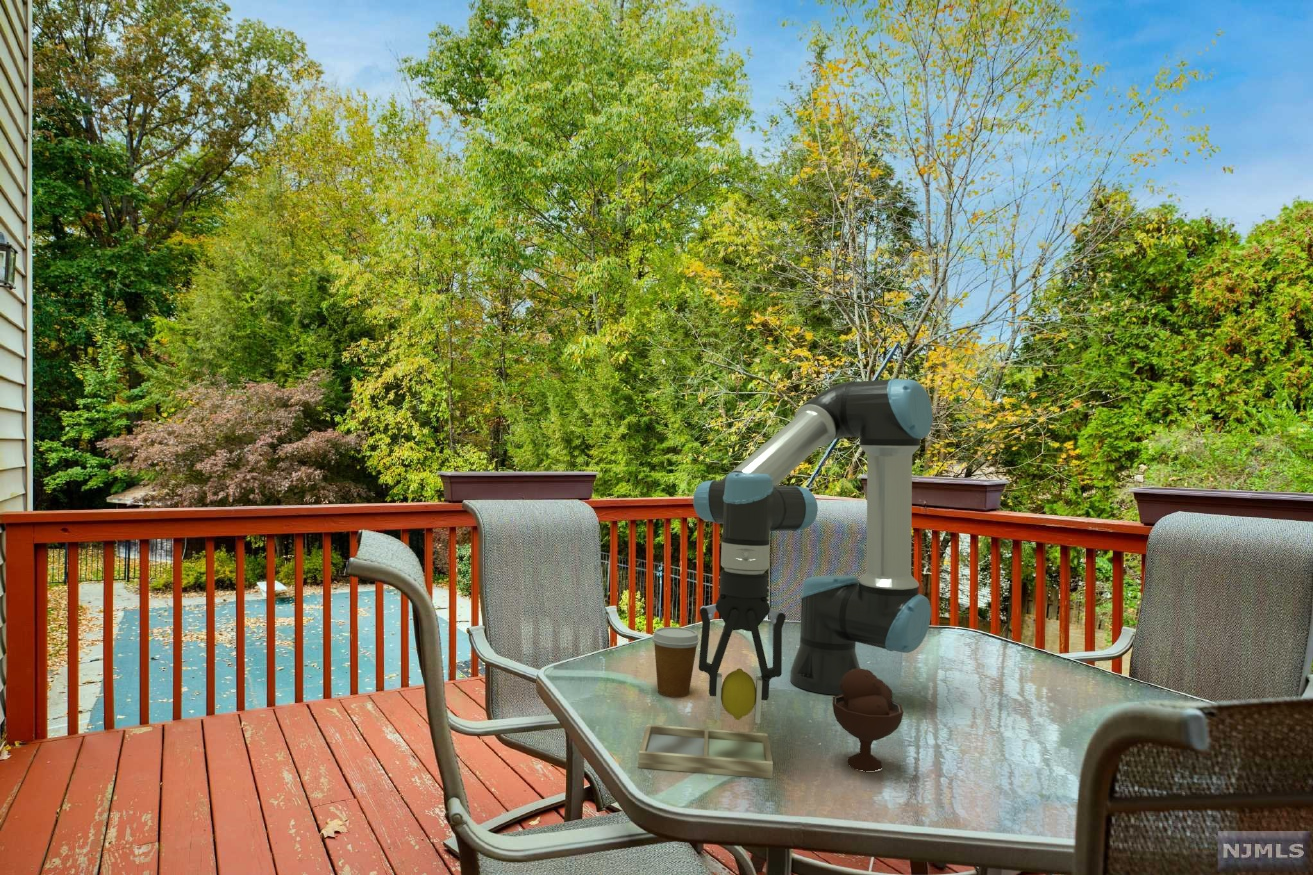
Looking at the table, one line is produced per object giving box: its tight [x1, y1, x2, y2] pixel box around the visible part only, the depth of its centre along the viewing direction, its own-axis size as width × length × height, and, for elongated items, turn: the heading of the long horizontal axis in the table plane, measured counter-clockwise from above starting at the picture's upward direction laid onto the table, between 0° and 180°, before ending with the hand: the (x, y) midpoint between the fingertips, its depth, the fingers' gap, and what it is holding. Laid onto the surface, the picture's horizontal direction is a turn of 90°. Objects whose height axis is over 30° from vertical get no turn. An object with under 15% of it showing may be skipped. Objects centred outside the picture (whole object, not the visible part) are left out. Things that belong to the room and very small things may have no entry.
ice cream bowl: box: [832, 667, 904, 773], centre depth 115 cm, size 11×11×15 cm
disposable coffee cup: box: [651, 626, 701, 698], centre depth 147 cm, size 10×10×12 cm
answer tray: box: [637, 724, 774, 779], centre depth 115 cm, size 20×12×2 cm, turn 85°
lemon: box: [721, 667, 756, 721], centre depth 115 cm, size 6×6×8 cm
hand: (737, 718), depth 115 cm, fingers closed on lemon, 5 cm apart
